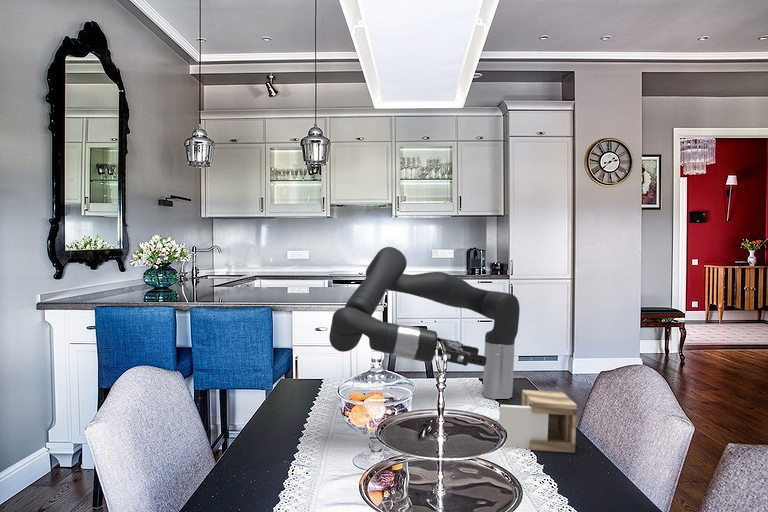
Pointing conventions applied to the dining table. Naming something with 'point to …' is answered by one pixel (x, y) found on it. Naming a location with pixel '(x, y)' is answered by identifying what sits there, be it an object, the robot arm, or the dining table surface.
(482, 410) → the external hard drive
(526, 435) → the cover plate
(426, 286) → the robot arm
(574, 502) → the dining table surface
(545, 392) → the box
